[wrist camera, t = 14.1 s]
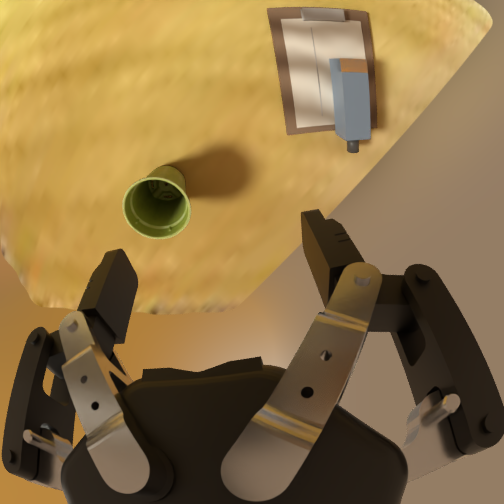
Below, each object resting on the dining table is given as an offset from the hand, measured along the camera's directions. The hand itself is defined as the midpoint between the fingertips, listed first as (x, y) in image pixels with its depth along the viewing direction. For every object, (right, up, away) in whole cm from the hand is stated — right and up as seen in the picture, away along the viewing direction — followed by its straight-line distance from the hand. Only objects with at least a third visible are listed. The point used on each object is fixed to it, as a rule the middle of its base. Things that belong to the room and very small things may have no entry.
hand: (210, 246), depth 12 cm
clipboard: (+13, +26, +20) cm, 35 cm away
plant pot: (-12, +11, +29) cm, 33 cm away
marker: (+16, +22, +22) cm, 35 cm away
